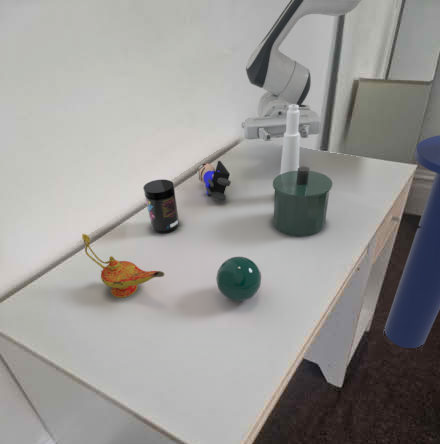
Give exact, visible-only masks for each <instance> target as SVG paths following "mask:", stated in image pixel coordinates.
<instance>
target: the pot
mask: <svg viewBox="0 0 440 444" xmlns="http://www.w3.org/2000/svg"><path fill="white" fill-rule="evenodd" d="M329 197H330V191H329V192H327V193H326V194H324V195H321V196H317V197H312V198H294V197H289V196H285V195H283V194H280V193H278V192H277V191H276V190H275V189H274V201H273V203H274V204H273V226H274V228H275V229H276V230H277V231H278V232H280V233H281V234H284V235H287V236H292V237H309V236H310V237H311V236H313V235H316V234H319V232H321V231H322V230H323V229H324V227H325V224H326V219H327V214H328V213H327V211H328V206H329V205H328V204H329Z"/></svg>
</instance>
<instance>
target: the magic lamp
mask: <svg viewBox="0 0 440 444" xmlns="http://www.w3.org/2000/svg"><path fill="white" fill-rule="evenodd" d="M81 236H82V240H83V243H84V245H85V247H84V252H85V254H86V256H87V257H89V258H90V259H91V260H92V261H93V262H94V263H95V264H97V265H98V266H99V267H100V268H102V269H101V270H100V272H101V273H100V279H101V282H102V283H103V284H104V285H106V286H107V287H110V288H111V289H110V292H111V295H112V296H113V297H115V298H120V299H121V298H127V297H130V296H132V295H133V294H135V293H136V291H137V290H138V285H141V284H144V283H146V282H148V281H150V280H152V279H154V278H163V277H164V276H165V272H163V271H161V270H150V271H149V270H147V271H146V270H143V269H142V268H139V266H137V265H136V264H135V263H134V262H132V261H127V260H116V259H115V257H114V256H112V255H111V256H109V260H107V261H103V260H102V259H101V258H100V257H98V256H97V255H96V253H95V252H94V250H93V249H92V248H91V246H90V244H91V243H90V242H91V237H90V236H89V235H88V234H86V233H82V235H81ZM88 249H89V250H90V252H91V254H92V255H93V256H94V257H92V255H91V254H89V253H88ZM96 259H97V260H98V261H97V260H96ZM103 264H106V266H105V265H103Z"/></svg>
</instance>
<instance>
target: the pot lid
mask: <svg viewBox="0 0 440 444" xmlns="http://www.w3.org/2000/svg"><path fill="white" fill-rule="evenodd" d="M272 188H273V190H274V191H275V190H276V191H277V192H278V193H280V194H283V195H285V196H289V197H294V198H312V197H317V196H321V195H324V194H326V193H327V192H329V193H330V191H331V190H332V189H333V181H332V179H331V178H330V177H329V176H328V175H326V174H324V173H321V172H317V171H313V170H310V168H309V166H308V167H307V166H299V168H298V170H297V171H290V172H286V173H283V174H280V173H279V174H278V175H277V176H276V177H275V178H273V180H272Z"/></svg>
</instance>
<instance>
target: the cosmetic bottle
mask: <svg viewBox="0 0 440 444" xmlns="http://www.w3.org/2000/svg"><path fill="white" fill-rule="evenodd" d="M288 108H289V110H288V111H287V121H286V132H285V133H284V137H283V140H282V141H283V142H282V149H281V162H280V170H279V175H280V174H283V173H286V172H290V171H297V170H298V168H299V167H300V147H301V146H300V144H301V143H300V142H301V140H300V139H301V135H300V133H299V132H298V126H299V113H300V111H299V110H298V108H299V105H296V104H292V105H289V107H288Z"/></svg>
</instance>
